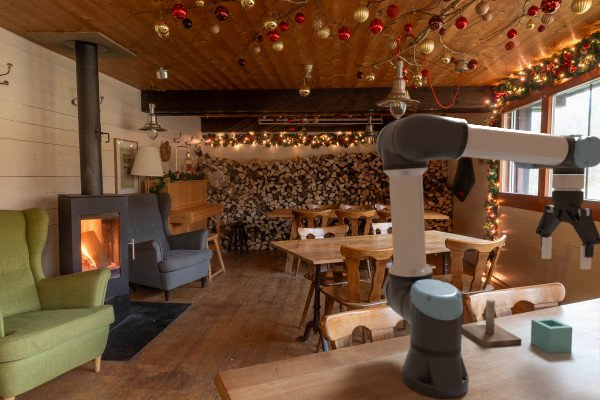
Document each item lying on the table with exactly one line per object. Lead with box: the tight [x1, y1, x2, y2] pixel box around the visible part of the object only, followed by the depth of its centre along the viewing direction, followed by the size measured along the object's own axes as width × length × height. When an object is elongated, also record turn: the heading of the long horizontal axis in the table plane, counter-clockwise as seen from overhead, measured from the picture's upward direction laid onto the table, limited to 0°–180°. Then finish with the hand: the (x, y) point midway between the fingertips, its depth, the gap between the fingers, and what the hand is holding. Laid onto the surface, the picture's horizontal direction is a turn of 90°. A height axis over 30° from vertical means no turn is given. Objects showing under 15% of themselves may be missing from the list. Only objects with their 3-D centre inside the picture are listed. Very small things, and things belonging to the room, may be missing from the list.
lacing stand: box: [462, 298, 522, 348], centre depth 119 cm, size 12×12×12 cm
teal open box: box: [530, 317, 573, 354], centre depth 113 cm, size 7×7×7 cm
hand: (564, 263), depth 113 cm, fingers open, 13 cm apart
